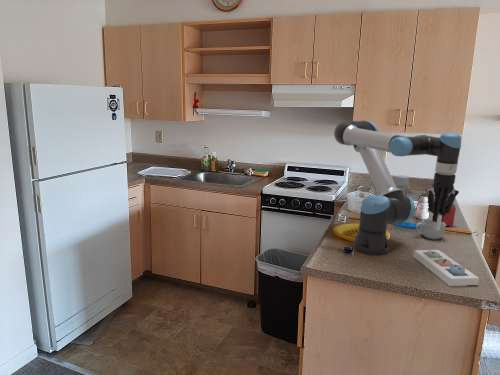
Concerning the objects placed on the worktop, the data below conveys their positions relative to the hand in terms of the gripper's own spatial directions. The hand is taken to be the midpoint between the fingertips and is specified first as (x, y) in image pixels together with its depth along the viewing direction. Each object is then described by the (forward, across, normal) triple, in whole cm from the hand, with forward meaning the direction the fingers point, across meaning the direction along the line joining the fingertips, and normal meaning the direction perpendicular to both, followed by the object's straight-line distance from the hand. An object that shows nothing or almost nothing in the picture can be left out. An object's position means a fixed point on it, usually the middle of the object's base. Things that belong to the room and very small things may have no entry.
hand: (436, 229), depth 158 cm
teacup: (+15, +15, +28) cm, 35 cm away
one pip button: (+14, 0, 0) cm, 14 cm away
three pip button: (+13, 0, -8) cm, 16 cm away
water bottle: (+15, +12, +52) cm, 56 cm away
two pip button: (+12, 0, -16) cm, 20 cm away
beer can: (+15, +35, +44) cm, 58 cm away
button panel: (+14, 0, -8) cm, 17 cm away
